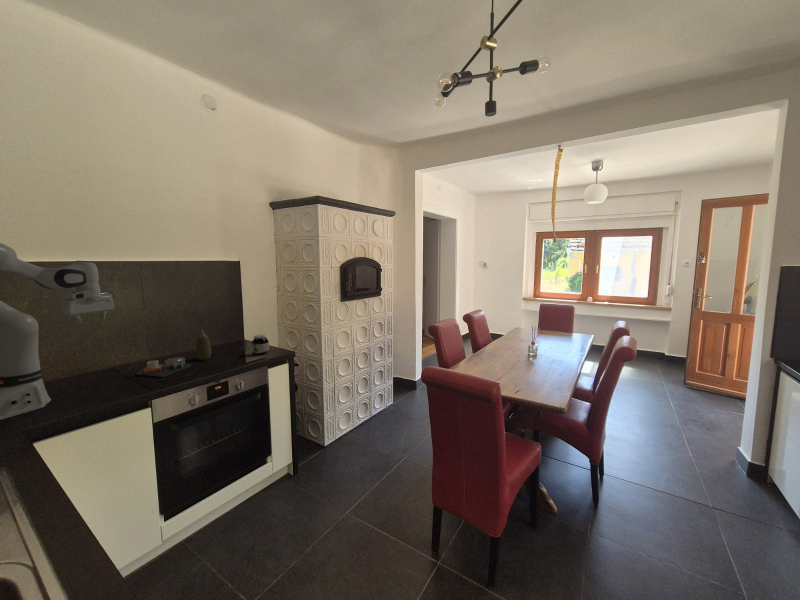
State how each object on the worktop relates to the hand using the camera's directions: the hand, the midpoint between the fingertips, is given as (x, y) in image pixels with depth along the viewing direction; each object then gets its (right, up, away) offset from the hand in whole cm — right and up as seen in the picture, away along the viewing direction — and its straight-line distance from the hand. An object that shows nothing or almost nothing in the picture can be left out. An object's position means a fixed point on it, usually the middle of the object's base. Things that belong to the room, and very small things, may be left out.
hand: (91, 321), depth 162 cm
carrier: (+28, -28, +13) cm, 41 cm away
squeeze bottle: (+35, -25, +34) cm, 55 cm away
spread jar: (+63, -24, +44) cm, 81 cm away
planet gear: (+24, -26, +9) cm, 37 cm away
